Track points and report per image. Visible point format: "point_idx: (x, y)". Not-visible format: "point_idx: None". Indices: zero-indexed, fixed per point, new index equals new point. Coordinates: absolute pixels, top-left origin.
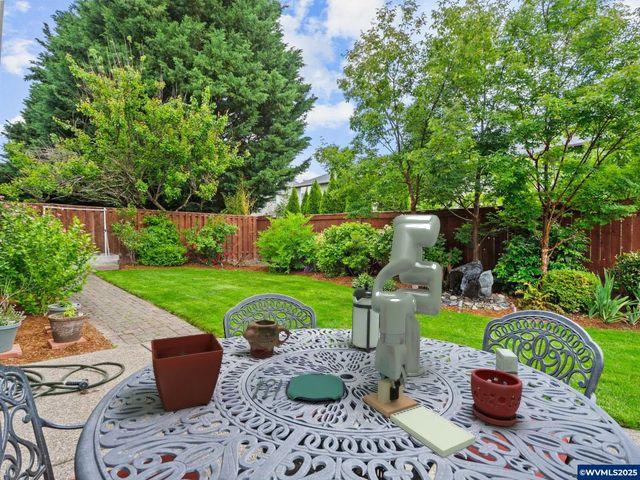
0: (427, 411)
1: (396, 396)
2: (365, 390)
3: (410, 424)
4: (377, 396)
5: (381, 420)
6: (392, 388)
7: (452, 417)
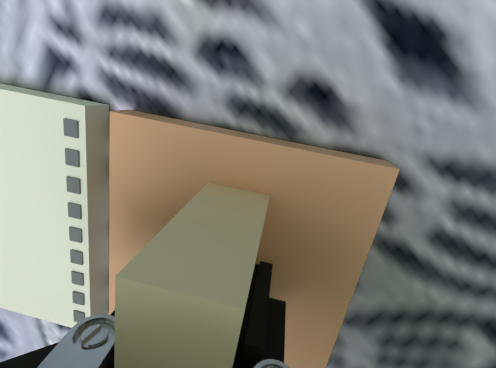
0: (28, 297)
1: None
2: (473, 293)
3: None
4: (311, 244)
5: (133, 53)
6: None
7: (9, 340)
